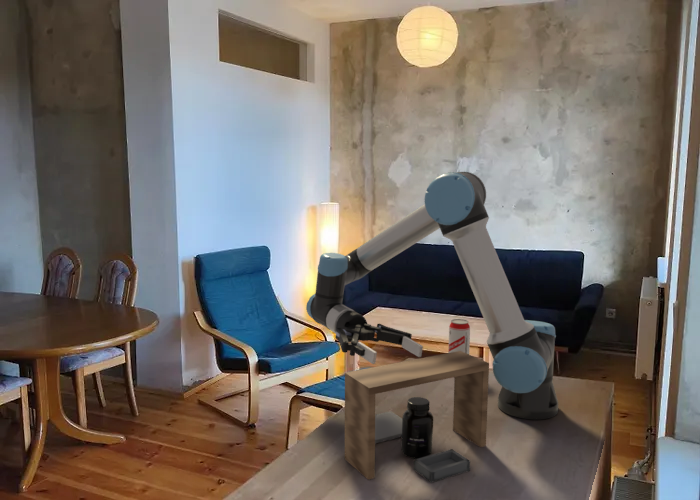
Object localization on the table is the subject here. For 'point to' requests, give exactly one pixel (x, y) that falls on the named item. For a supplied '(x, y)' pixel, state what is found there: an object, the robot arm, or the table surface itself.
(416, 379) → the bridge
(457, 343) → the beer can
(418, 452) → the supplement bottle
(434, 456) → the trap tray
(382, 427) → the coaster
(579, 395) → the table surface
